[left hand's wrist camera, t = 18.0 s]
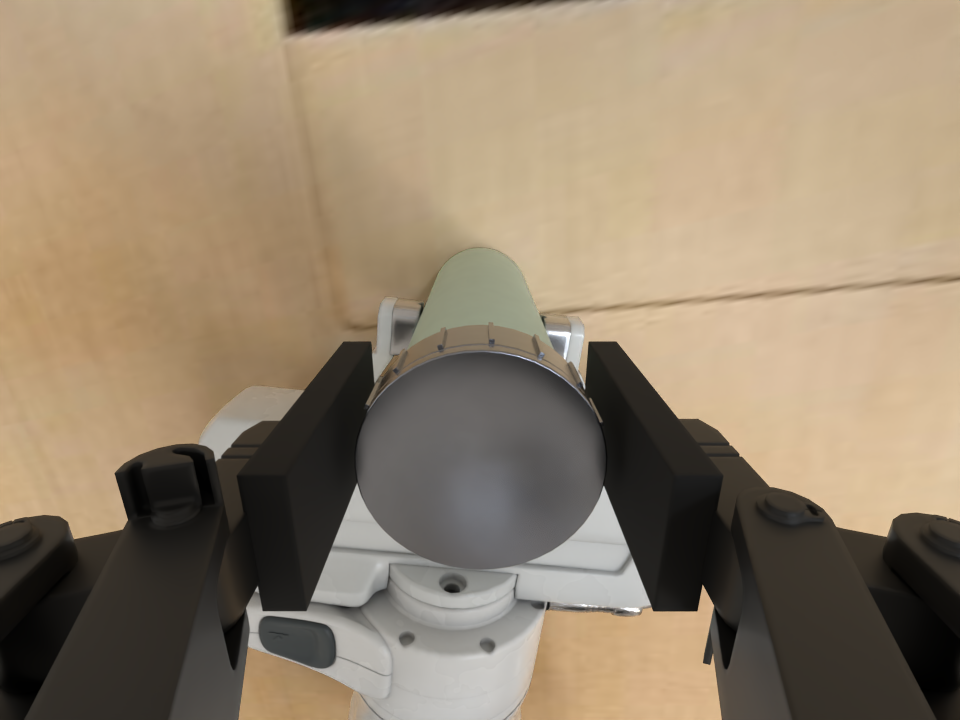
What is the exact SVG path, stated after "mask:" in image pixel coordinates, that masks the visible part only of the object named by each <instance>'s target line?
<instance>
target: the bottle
mask: <svg viewBox="0 0 960 720" xmlns="http://www.w3.org/2000/svg"><path fill="white" fill-rule="evenodd" d="M488 322H493V324H494V326H501V327H506V328H511V329H515V330H517V331H520V332H523V333H526V334H529V335H531V336H534V334H536V335H538V336H539V338H540V340H541V341H542V342H544V343H545V344H547V345H548V346H550V347H551V348H553V346H552V344H551V341H550V339H549V337H548V334H547V332H546V329H545V327H544V325H543V322H542V320H541V317H540V315H539V313H538V310H537V308H536V305H535V303H534V301H533V298H532V296H531V293H530V291H529V289H528V286H527V284H526V281H525V279H524V277H523V275H522V272H521V271H520V269H519V268H518V266H517V265H516V264H515V263H514V261H512V260H511V259H510V258H509V257H508V256H506V255H505V254H503V253H501V252H499V251H496V250H493V249H489V248H472V249H467V250H464V251H462V252H459V253H458V254H456V255H454V256H453V257H451V258H450V259H449V260H448V261H447V262H446V263H445V264H444V265H443V267H442V268H441V270H440V271H439V273H438V275H437V277H436V280H435V282H434V285H433V287H432V290H431V292H430V295H429V297H428V300H427V302H426V304H425V307H424V309H423V312H422V314H421V317H420V319H419V322H418V324H417V327H416V329H415V331H414V334H413V336H412V339H411V341H410V344H409V346H408V349H409V348H410V347H412V346H413V345H415V344H416V343H418V342H420V341H421V340H423V339H425V338H427V337H429V336H431V335H433V334H435V333H438V332H440V330H441V328H443V327H446V329H451V328H455V327H461V326H467V325H488ZM408 349H407V350H408Z"/></svg>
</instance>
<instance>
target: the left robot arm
mask: <svg viewBox="0 0 960 720" xmlns="http://www.w3.org/2000/svg"><path fill="white" fill-rule="evenodd" d="M374 386H375V383H374V371H373V358H372V345H371V342H343V343H342V344H341V346H340V347H339V348H338V349H337V351H336V352H335V353H334V354H333V356H332V357H331V358H330V359H329V361H328V362H327V363H326V364H325V366H324V367H323V368H322V369H321V371H320V372H319V373H318V374H317V376H316V377H315V378H314V379H313V381H312V382H311V383H310V384H309V386H308V387H307V388H306V389H305V390H304V392H303V393H302V394H301V395H300V397H299V398H298V399H297V400H296V402H295V403H294V404H293V405H292V407H291V408H290V409H289V410H288V412H287V413H286V414H285V415H284V417H283V418H282V419H281V420H280V421H261V422H259V423H257V424H256V425H254V426H252V427H250V428H249V429H247V430H245V431H243V432H242V433H241V434H240V436H239V437H238V438H237V439H236V440H235V441H234V442H233V443H232V444H231V448H228V449H227V450H226V451H225V452H224V453H223V454H222V455H221V459H218V460H217V461H215V456H214V451H213V450H211V449H210V448H208V447H207V446H204V445H198V444H176V445H171V446H167V447H162V448H157V449H155V450H152V451H149V452H146V453H144V454H141V455H139V456H137V457H135V458H133V459H132V460H130V461H128V462H126V463H124V464H123V465H122V466H121V467H120V468H119V469H118V470H117V471H116V472H115V476H116V480H117V483H118V487H119V490H120V493H121V497H122V500H123V504H124V507H125V511H126V514H127V518H128V521H127V523H126V525H125V527H124V529H123V530H119V531H115V532H110V533H104V534H99V535H94V536H89V537H84V538H79V539H73V536H72V533H71V530H70V527H69V524H68V522H67V521H66V520H64V519H63V518H61V517H60V516H49V515H42V516H34V517H24V518H20V519H15V520H14V521H13V522H12V521H9V522H6V523H3V524H0V720H238V717H239V710H240V702H241V694H242V687H243V679H244V671H245V664H246V656H247V648H248V641H249V633H250V626H249V619H248V614H247V610H246V607H247V605H248V603H249V601H250V599H251V597H252V596H253V594H254V592H255V590H256V588H257V586H258V590H259V595H260V600H261V605H262V610H263V611H307V609H308V606H309V604H310V601H311V599H312V596H313V594H314V591H315V589H316V586H317V584H318V581H319V579H320V576H321V574H322V571H323V568H324V566H325V563H326V561H327V558H328V556H329V553H330V551H331V548H332V546H333V543H334V541H335V538H336V535H337V533H338V530H339V528H340V525H341V523H342V520H343V518H344V515H345V513H346V510H347V508H348V505H349V503H350V500H351V497H352V495H353V492H354V490H355V487H356V485H357V481H356V474H355V468H354V451H355V445H356V438H357V435H358V432H359V428H360V425H361V423H362V420H363V418H364V416H365V414H366V412H367V409H365V408H364V406H365V404H366V402H367V400H368V398H369V396H370V394H371V392H372V390H373V388H374ZM585 391H586V394H587V396H588V398H592V400H593V403H594V405H595V407H596V409H597V411H598V413H599V415H600V417H601V419H602V421H603V424H604V426H602V429H603V432H604V436H605V440H606V446H607V456H608V458H607V473H606V478H605V483H604V487H605V490H606V492H607V495H608V497H609V500H610V503H611V505H612V508H613V510H614V513H615V515H616V518H617V520H618V523H619V525H620V528H621V530H622V533H623V536H624V538H625V541H626V543H627V546H628V548H629V551H630V553H631V556H632V558H633V561H634V563H635V566H636V568H637V571H638V574H639V576H640V579H641V581H642V584H643V586H644V589H645V591H646V594H647V596H648V599H649V601H650V604H651V607H652V609H653V611H697V610H698V605H699V600H700V595H701V590H702V585H703V586H704V587H705V589H706V591H707V593H708V595H709V597H710V599H711V600H712V602H713V604H714V610H713V614H712V619H711V624H710V629H709V634H708V638H707V643H706V648H705V653H704V660H703V663H705V664H709V665H710V663H711V659H712V654H713V655H714V662H715V670H716V678H717V685H718V693H719V700H720V708H721V716H722V720H960V522H959V521H956V520H953V519H950V518H949V519H947V518H946V517H943V516H939V515H929V514H922V513H907V514H901V515H899V516H898V517H896V518H895V519H893V521H892V524H891V527H890V530H889V533H888V536H887V537H883V536H878V535H873V534H868V533H863V532H857V531H852V530H847V529H842V528H838V527H836V526H835V524H834V522H833V520H832V519H831V518H830V516H829V515H828V514H827V513H826V512H825V511H824V509H823V508H821V507H820V506H818V505H817V504H815V503H814V502H812V501H811V500H809V499H807V498H805V497H802V496H800V495H798V494H795V493H793V492H790V491H786V490H782V489H778V488H773V487H769V486H768V485H767V484H766V482H765V481H764V480H763V479H762V478H761V477H760V476H759V475H758V474H757V473H756V472H755V470H754V469H753V468H752V467H751V466H750V465H749V464H748V463H747V462H746V461H745V460H744V459H743V457H739V453H738V452H737V451H736V450H735V449H734V448H733V447H732V446H730V445H729V442H728V441H727V440H726V439H725V438H724V437H723V436H722V435H721V433H720V432H719V431H718V430H716V429H715V428H713V427H711V426H709V425H708V424H706V423H704V422H702V421H701V420H699V419H678V418H677V417H676V415H675V414H674V413H673V412H672V410H671V409H670V408H669V407H668V405H667V404H666V403H665V402H664V400H663V399H662V398H661V397H660V395H659V394H658V393H657V392H656V391H655V389H654V388H653V387H652V386H651V384H650V383H649V382H648V381H647V379H646V378H645V377H644V376H643V374H642V373H641V372H640V371H639V369H638V368H637V367H636V366H635V364H634V363H633V362H632V361H631V359H630V358H629V357H628V356H627V354H626V353H625V352H624V351H623V349H622V348H621V347H620V346H619V344H618V343H617V342H589V345H588V358H587V371H586V383H585Z"/></svg>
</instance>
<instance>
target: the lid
mask: <svg viewBox="0 0 960 720" xmlns="http://www.w3.org/2000/svg"><path fill="white" fill-rule="evenodd" d="M364 408H365V409H367V412H366V414H365V416H364V418H363V420H362V423H361V425H360V428H359V432H358V435H357V438H356V445H355V451H354V468H355V474H356V481H357V484H358V487H359V491H360V494H361V496H362V499H363V501H364V503H365V505H366V507H367V509H368V510H369V512H370V513H371V515H372V516H373V518H374V520H375V521H376V522H377V523H378V524H379V526H380V527H381V528H382V529H383V530H384V531H385V532H386V533H387V534H388V535H389V536H390V537H391V538H393V539H394V540H395V541H396V542H397V543H399V544H400V545H402V546H403V547H405V548H406V549H407V550H409V551H411V552H413V553H415V554H417V555H419V556H420V557H423V558H425V559H428V560H430V561H433V562H436V563H439V564H443V565H446V566H451V567H456V568H462V569H475V570H485V569H498V568H505V567H511V566H515V565H519V564H523V563H526V562H528V561H531V560H534V559H536V558H539V557H541V556H543V555H545V554H547V553H549V552H551V551H552V550H554V549H555V548H557V547H558V546H560V545H561V544H563V543H564V542H565V541H567V540H568V539H569V538H570V537H571V536H572V535H574V534H575V533H576V532H577V531H578V529H579V528H580V527H581V526H582V525H583V524H584V523H585V521H586V520H587V519H588V517H589V516H590V514H591V513H592V512H593V510H594V508H595V506H596V504H597V502H598V500H599V498H600V495H601V492H602V489H603V487H604V483H605V478H606V473H607V458H608V456H607V446H606V440H605V436H604V432H603V429H602V426H604V424H603V421H602V419H601V417H600V415H599V413H598V411H597V409H596V407H595V405H594V403H593V400H592V398H588V396H587V394H586V391H585V389H584V387H583V383H582V381H581V379H580V376H579V374H578V372H577V370H576V368H575V366H574V364H573V363H572V362H571V361H570V362H569V363H567V361H566V360H565V359H564V358H563V357H562V356H561V355H560V354H558V353H557V352H556V351H555V350H554V349H553V348H551V347H550V346H548V345H547V344H545V343H544V342H542V341H541V340H540V338H539V336H538V335H536V334H534V336H531V335H529V334H526V333H523V332H520V331H517V330H515V329H511V328H506V327H501V326H494V324H493V322H488V325H467V326H461V327H455V328H451V329H446V327H443V328H441V330H440V332H438V333H435V334H433V335H431V336H429V337H427V338H425V339H423V340H421V341H420V342H418V343H416V344H415V345H413V346H412V347H410V348H409V349H408V350H406V349H405V348H404V349H402V350H401V352H400V354H399V356H398V359H397V360H396V361H395V362H394V363H393V364H392V365H391V366H390V368H389V369H388V371H387V372H386V374H385V375H384V377H383V378H382V380H381V382H380V383H378V382H376V384H375V386H374V388H373V390H372V392H371V394H370V396H369V398H368V400H367V402H366V404H365V406H364Z"/></svg>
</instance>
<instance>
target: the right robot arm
mask: <svg viewBox="0 0 960 720" xmlns="http://www.w3.org/2000/svg"><path fill="white" fill-rule="evenodd" d="M423 309H424V301H419V300H410V299H402V298H397V297H385V298H384V299H383V301H382V302H381V303H380V308H379V313H378V327H377V346H376V347H375V349H374V350H373V351H372V358H373V371H374V383H375V384H376V382H378V383H380V382H381V380H382V378H383V377H381V376H380V375H381V374H382V372H383V371H384V369H385V368H386V366H387V365H388V364H389V362H390V361H391V359H392V358H393V356H394V355H399V354H400V352H401V350H402V349H404V348H405V349H406V350H407V349H408V346H409V344H410V341H411V339H412V336H413V334H414V331H415V329H416V327H417V324H418V322H419V319H420V317H421V314H422V312H423ZM540 317H541V320H542V322H543V325H544V327H545V329H546V332H547V334H548V337H549V339H550V341H551V344H552V346H553V349H554V350H555V351H556V352H557V353H558V354H560V355H561V356H562V357H563V358H564V359H565V360H566V361H567V363H569V362H570V361H571V362H572V363H573V364H574V366H575V368H576V370H577V372H578V374H579V376H580V379H581V381H582V383H583V387H584V389H585V384H584V382H583V379H582V376H581V374H580V372H579V370H578V368H579V362H580V357H581V352H582V346H583V341H584V324H583V323H582V321H581V320H580V318H579V317H573V316H564V315H553V314H542V313H541V315H540ZM303 392H304V390H298V389H288V388H278V387H269V386H250V387H248V388H246V389H244V390H243V391H242V392H240V393H239V394H238V395H237V396H235V397H234V398H233V399H232V400H231V401H229V402H228V403H227V404H226V405H224V406H223V407H222V408H221V409H220V410H219V411H218V412H217V413H216V415H215V416H214V417H213V418H212V419H211V420H210V421H209V423H208V424H207V425H206V427H205V428H204V430H203V431H202V434H201V436H200V439H199V444H198V445H204V446H207V447H208V448H210V449H211V450H213V451H214V456H215V461H217V460H218V459H221V455H222V454H223V453H224V452H225V451H226V450H227V449H228V448H231V444H232V443H233V442H234V441H235V440H236V439H237V438H238V437H239V436H240V434H241V433H242V432H243V431H245V430H247V429H249V428H250V427H252V426H254V425H256V424H257V423H259V422H261V421H280V420H281V419H282V418H283V417H284V415H285V414H286V413H287V412H288V410H289V409H290V408H291V407H292V405H293V404H294V403H295V402H296V400H297V399H298V398H299V397H300V395H301V394H302V393H303ZM645 608H651V604H650V601H649V599H648V596H647V594H646V591H645V589H644V586H643V584H642V581H641V579H640V576H639V574H638V571H637V568H636V566H635V563H634V561H633V558H632V556H631V553H630V551H629V548H628V546H627V543H626V541H625V538H624V536H623V533H622V530H621V528H620V525H619V523H618V520H617V518H616V515H615V513H614V510H613V508H612V505H611V503H610V500H609V497H608V495H607V492H606V490H605V487H603V489H602V492H601V495H600V498H599V500H598V502H597V504H596V506H595V508H594V510H593V512H592V513H591V514H590V516H589V517H588V519H587V520H586V521H585V523H584V524H583V525H582V526H581V527H580V528H579V529H578V531H577V532H576V533H575V534H574V535H572V536H571V537H570V538H569V539H568V540H567V541H565V542H564V543H563V544H561V545H560V546H558V547H557V548H555V549H554V550H552V551H551V552H549V553H547V554H545V555H543V556H541V557H539V558H536V559H534V560H531V561H528V562H526V563H523V564H519V565H515V566H511V567H505V568H498V569H485V570H475V569H462V568H456V567H451V566H446V565H443V564H439V563H436V562H433V561H430V560H428V559H425V558H423V557H420V556H419V555H417V554H415V553H413V552H411V551H409V550H407V549H406V548H405V547H403V546H402V545H400V544H399V543H397V542H396V541H395V540H394V539H393V538H391V537H390V536H389V535H388V534H387V533H386V532H385V531H384V530H383V529H382V528H381V527H380V526H379V524H378V523H377V522H376V521H375V520H374V518H373V516H372V515H371V513H370V512H369V510H368V509H367V507H366V505H365V503H364V501H363V499H362V496H361V494H360V491H359V487H358V484H357V485H356V487H355V490H354V492H353V495H352V497H351V500H350V503H349V505H348V508H347V510H346V513H345V515H344V518H343V520H342V523H341V525H340V528H339V530H338V533H337V535H336V538H335V541H334V543H333V546H332V548H331V551H330V553H329V556H328V558H327V561H326V563H325V566H324V568H323V571H322V574H321V576H320V579H319V581H318V584H317V586H316V589H315V591H314V594H313V596H312V599H311V601H310V604H309V606H308V609H307V611H263V610H262V605H261V600H260V595H259V590H258V586H257V588H256V590H255V592H254V594H253V596H252V597H251V599H250V601H249V603H248V605H247V607H246V610H247V614H248V619H249V626H250V633H249V641H248V647H249V648H252V649H255V650H258V651H261V652H264V653H267V654H270V655H273V656H276V657H279V658H282V659H285V660H288V661H291V662H294V663H297V664H300V665H302V666H305V667H308V668H310V669H312V670H315V671H317V672H320V673H322V674H324V675H326V676H328V677H330V678H333V679H335V680H337V681H339V682H340V683H342V684H344V685H346V686H348V687H349V688H351V689H353V690H354V691H353V694H352V698H351V702H350V709H349V715H348V720H521V705H522V703H523V701H524V699H525V697H526V695H527V692H528V690H529V687H530V683H531V679H532V675H533V670H534V665H535V660H536V655H537V650H538V645H539V641H540V635H541V630H542V626H543V621H544V616H545V612H546V610H552V611H563V612H575V613H585V612H586V613H588V612H603V613H611V614H612V615H616V616H623V617H631V616H638V615H640V614H641V613H642V609H645Z"/></svg>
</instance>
